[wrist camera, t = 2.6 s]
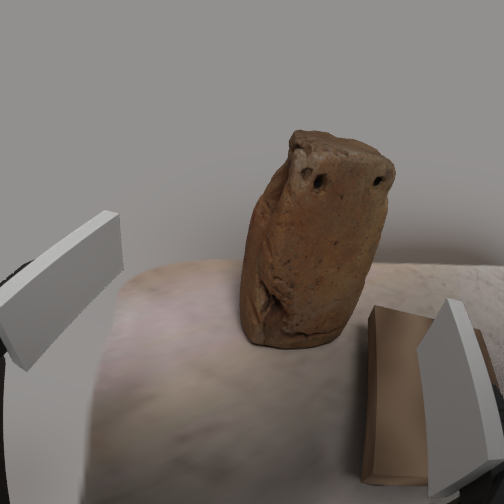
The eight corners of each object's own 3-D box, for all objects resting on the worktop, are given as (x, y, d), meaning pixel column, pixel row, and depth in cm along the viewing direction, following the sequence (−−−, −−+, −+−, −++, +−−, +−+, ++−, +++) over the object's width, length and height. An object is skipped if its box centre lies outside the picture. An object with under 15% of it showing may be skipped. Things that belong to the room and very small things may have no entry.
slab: (459, 359, 30) (479, 329, 28) (479, 493, 15) (515, 470, 13) (358, 338, 33) (374, 305, 30) (344, 493, 18) (372, 473, 15)
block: (320, 302, 38) (366, 137, 27) (345, 347, 32) (415, 163, 21) (232, 307, 35) (255, 121, 24) (245, 360, 29) (284, 142, 18)
